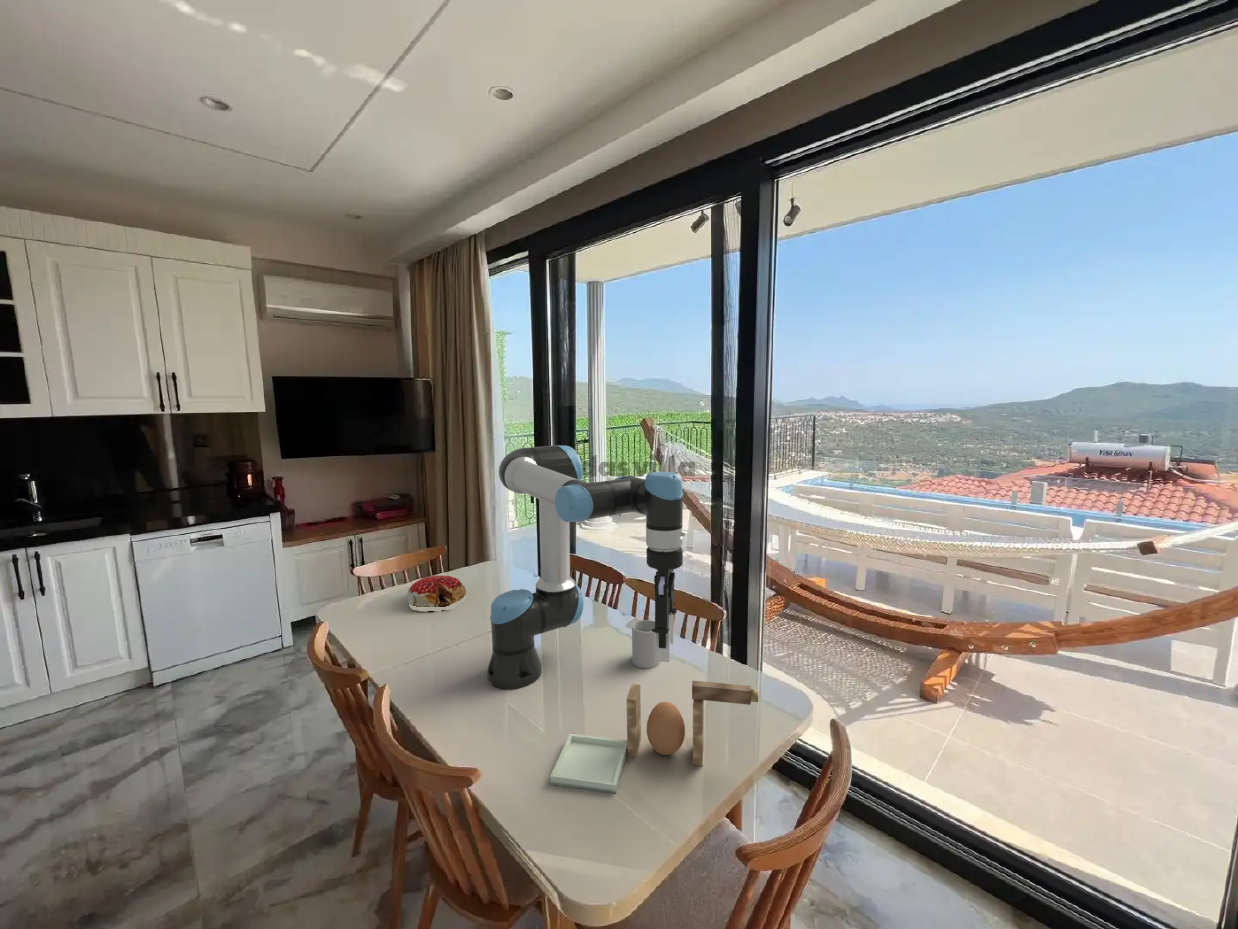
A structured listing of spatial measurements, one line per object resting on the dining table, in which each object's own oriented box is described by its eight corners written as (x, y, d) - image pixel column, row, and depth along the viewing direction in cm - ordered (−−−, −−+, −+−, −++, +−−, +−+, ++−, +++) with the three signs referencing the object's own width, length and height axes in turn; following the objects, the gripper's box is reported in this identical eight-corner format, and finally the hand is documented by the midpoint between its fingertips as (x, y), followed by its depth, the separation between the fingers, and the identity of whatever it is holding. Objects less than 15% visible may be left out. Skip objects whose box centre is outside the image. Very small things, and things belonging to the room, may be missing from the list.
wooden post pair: (627, 756, 109) (626, 699, 107) (632, 738, 115) (631, 684, 113) (702, 766, 106) (702, 707, 104) (703, 747, 112) (703, 690, 110)
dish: (550, 784, 101) (550, 776, 101) (570, 741, 114) (570, 733, 114) (615, 793, 99) (615, 785, 98) (628, 748, 112) (628, 740, 111)
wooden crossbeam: (691, 699, 106) (691, 686, 106) (692, 693, 109) (692, 680, 108) (758, 706, 104) (758, 692, 103) (757, 699, 106) (757, 686, 106)
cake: (440, 619, 182) (438, 593, 180) (394, 608, 193) (392, 582, 192) (485, 597, 202) (484, 573, 201) (441, 588, 213) (440, 565, 212)
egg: (691, 760, 107) (691, 711, 106) (654, 769, 105) (654, 718, 104) (676, 736, 115) (675, 690, 114) (641, 743, 113) (641, 696, 112)
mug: (643, 672, 143) (642, 635, 142) (626, 659, 150) (626, 624, 149) (676, 659, 150) (676, 624, 149) (658, 648, 157) (658, 614, 156)
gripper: (678, 562, 94) (678, 678, 97) (686, 535, 114) (686, 631, 117) (638, 560, 96) (640, 674, 98) (653, 533, 115) (654, 629, 118)
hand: (665, 651), depth 108 cm, fingers open, 7 cm apart
